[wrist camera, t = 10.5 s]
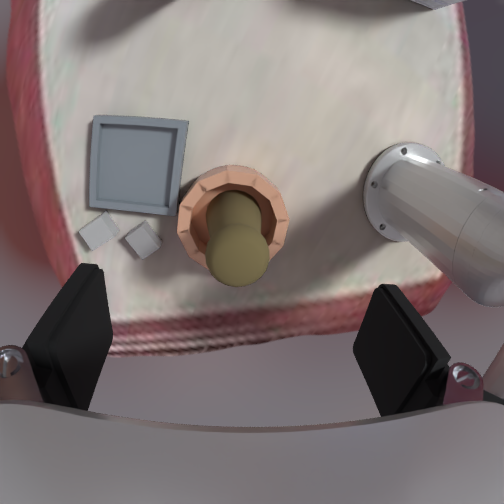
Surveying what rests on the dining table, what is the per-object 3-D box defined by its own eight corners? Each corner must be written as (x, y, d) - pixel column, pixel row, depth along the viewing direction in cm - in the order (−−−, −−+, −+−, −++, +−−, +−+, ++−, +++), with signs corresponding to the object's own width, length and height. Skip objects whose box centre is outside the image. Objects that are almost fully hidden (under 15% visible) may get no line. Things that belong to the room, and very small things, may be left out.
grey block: (162, 240, 35) (159, 248, 34) (146, 252, 36) (142, 259, 34) (146, 219, 34) (142, 225, 32) (129, 231, 35) (124, 238, 33)
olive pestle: (224, 251, 36) (225, 310, 26) (194, 208, 33) (182, 254, 23) (271, 225, 35) (291, 276, 25) (243, 179, 32) (253, 214, 22)
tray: (188, 120, 30) (187, 121, 28) (177, 211, 34) (175, 216, 32) (99, 115, 28) (93, 115, 27) (94, 202, 32) (89, 206, 31)
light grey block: (107, 209, 33) (100, 216, 31) (120, 229, 34) (114, 236, 32) (85, 224, 34) (78, 231, 32) (98, 243, 35) (92, 251, 33)
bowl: (290, 174, 33) (298, 181, 30) (270, 264, 38) (275, 279, 35) (188, 158, 31) (184, 164, 28) (178, 252, 36) (174, 267, 33)
